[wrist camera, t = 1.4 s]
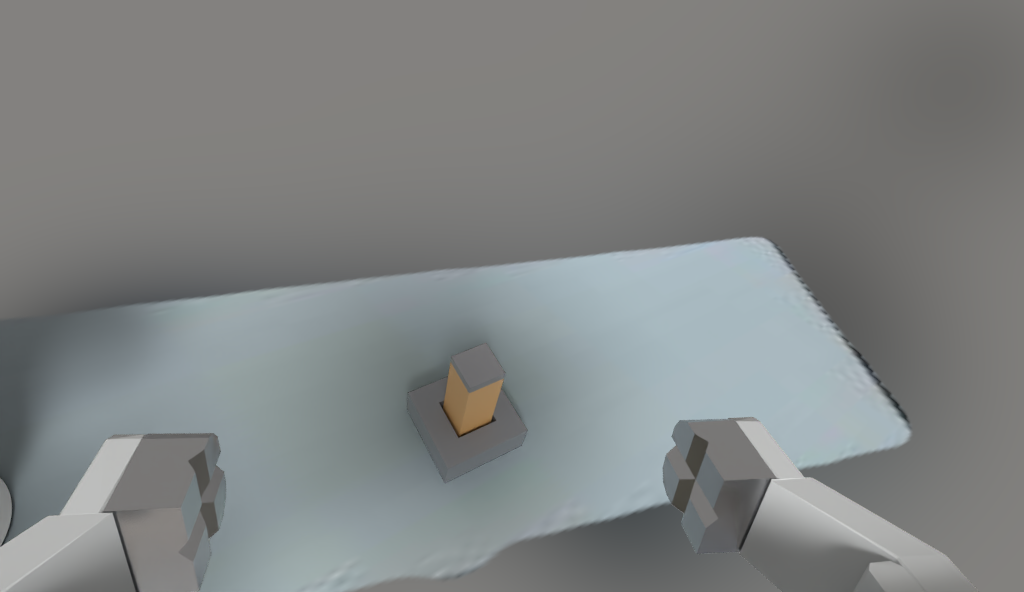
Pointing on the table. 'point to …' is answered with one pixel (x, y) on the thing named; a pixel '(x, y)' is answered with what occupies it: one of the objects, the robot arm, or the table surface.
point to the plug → (472, 389)
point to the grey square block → (471, 448)
